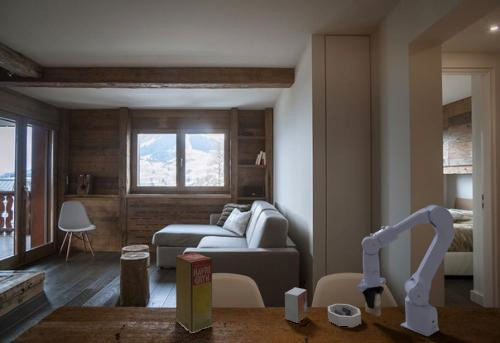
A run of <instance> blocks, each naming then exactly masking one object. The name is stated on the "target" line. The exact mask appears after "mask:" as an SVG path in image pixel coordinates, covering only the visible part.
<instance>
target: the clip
mask: <svg viewBox="0 0 500 343" xmlns="http://www.w3.org/2000/svg"><path fill="white" fill-rule="evenodd" d="M335 314H337V315H341V316H353V309H350V308H348V307H345V306H344V307H342V311H341V310H338V309H336V310H335Z"/></svg>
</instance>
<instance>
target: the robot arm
mask: <svg viewBox="0 0 500 343" xmlns="http://www.w3.org/2000/svg"><path fill="white" fill-rule="evenodd" d="M420 224H422V225H425V224H426V225H431V227H432V228H433V230H434V232H435V235H434V237H433V240H432V241H431V243H430V245H429V247H428V249H427V251H426V253H425V255H424V257H423V258H422V260H421V262H420V264H419V266H418V268H417V270H416V272H414V273H413V274H412V276H410V278H409V279H408V280H406V281H405V282H404V284H403V289H404V291H405V293H406V296H405V298H404V304H405V305H404V307H405V308H404V310H405V322H402V323H401V324H400V326H401V327H403V328H406V329H408V330H410V331H413V332H415V333H418V334H420V335H423V336H426V337H430V336H431V335H433V334H434V333H436V332H438V331H440V328H439V325H438V324H439V323H438V310H437V308H436V307H434V306H432V305H431V304H430V303H429V299H430V291H431V287H432V281H433V278H434V277H435V274H436V273H437V271H438V269H439V267H440V265H441V264H442V262H443V260H444V258H445V256H446V254H447V253H448V250H449V248H450V246H451V244H452V243H453V241H454V238H455V236H456V234H455V228H454V227H455V225H454V216H453V215H452V214H451V212H450V210H449V209H448V208H446V207H444V206H441V205H438V204H429V205H427V206H425V207H423V208H421V209H418V210H417V211H415V212H414V213H411V215H409V216H407V217H406V218H404V219H402V220H401V221H400V222H398V223H397V224H395V225H393V226H391V225H386V226H385V225H382V226H381V227H380V230H378V231H376V232H374V233H370V234H369V236H365V237H364V238H362V241H361V247H362V271H363V272H362V274H363V278H362V279H361V282H360V283H359V284H357V285H356V286H357V287H356V288H357V291H358V292H361V293H362V295H363V296H364V301H365V300H366V303H367V306H368V308H371V309H374V299H375V295H376V293H379V294H380V298H381V296H382V294H383V292H384V288H385V287H384V286H382V285H386V284H387V281H386V278H385V277H381V273H380V258H379V251H380V249H382V248H384V247H386V246H388V245H390V244H392V243H394V242H395V241H397V240H398V239H399V235H400V234H401V233H404V232H406V231H407V230H410V229H412V228H413V227H415V226H418V225H420Z"/></svg>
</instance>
